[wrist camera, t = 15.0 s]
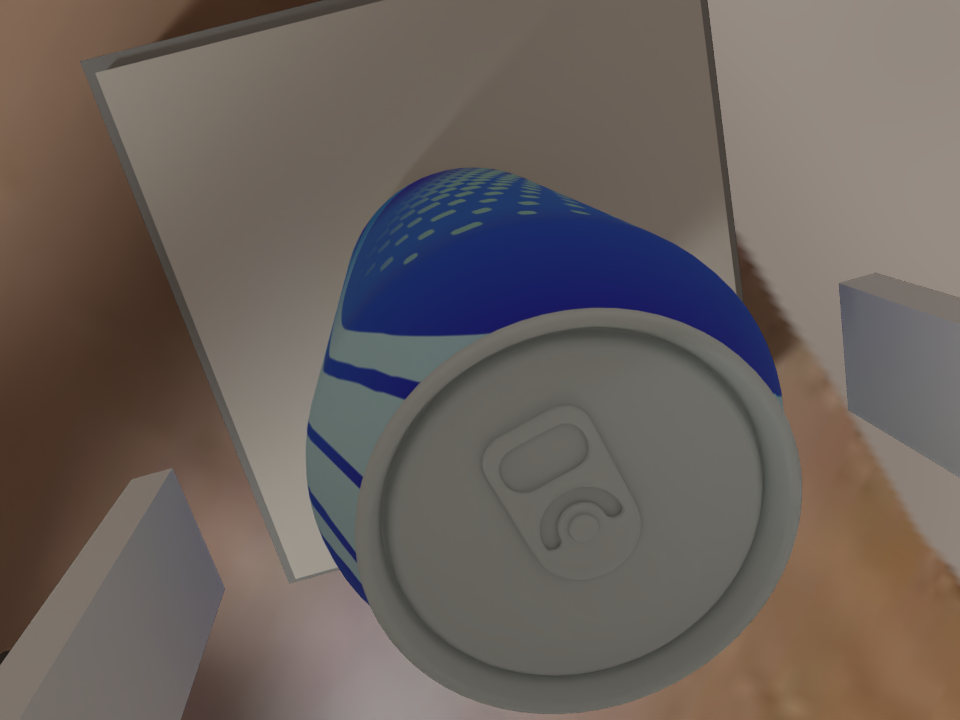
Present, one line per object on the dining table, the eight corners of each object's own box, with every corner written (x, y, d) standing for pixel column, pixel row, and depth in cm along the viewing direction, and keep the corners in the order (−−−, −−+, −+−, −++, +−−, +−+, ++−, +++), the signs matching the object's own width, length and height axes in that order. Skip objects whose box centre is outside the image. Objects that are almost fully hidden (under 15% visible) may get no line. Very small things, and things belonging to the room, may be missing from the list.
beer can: (609, 189, 25) (949, 296, 10) (556, 412, 27) (764, 773, 12) (365, 142, 23) (326, 184, 8) (332, 382, 26) (256, 749, 11)
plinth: (301, 525, 33) (287, 592, 28) (128, 70, 26) (72, 59, 22) (715, 411, 34) (768, 457, 29) (649, -61, 27) (703, -99, 22)
